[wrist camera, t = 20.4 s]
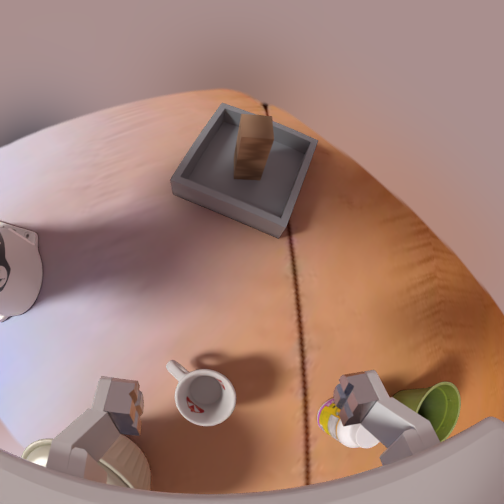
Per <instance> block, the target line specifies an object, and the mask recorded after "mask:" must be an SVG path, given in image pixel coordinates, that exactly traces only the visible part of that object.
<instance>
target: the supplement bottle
mask: <svg viewBox="0 0 504 504" xmlns="http://www.w3.org/2000/svg"><path fill="white" fill-rule="evenodd" d="M339 413H340V409H339V408H338V407H336V405H335V402H334V398H332V399H329V400H328V401H326V402H325V403H324V404H323V405H322V406H321V407H320V409H319V411H318V414H317V422H318V425H319V427H320V428H321V429H322V430H323V431H324V432H326V433H327V434H329V435H330V436H332V437H333V438H335V439H336V440H338V441H339V442H340V443H342V444H343V445H345V446H347V447H351V448H357V447H362V448H371V447H373V446H375V445H377V444H378V443H379V442H380V441H379V440H378V439H377V438H375V437H374V436H373V435H372V434H371V433H370V432H369V431H368V430H366V429H365V428H364V427H363V426H362V425H361V423H359V424H354V425H349V426H343V424H342V422H341V419H340V416H339Z"/></svg>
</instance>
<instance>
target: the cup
mask: <svg viewBox="0 0 504 504" xmlns="http://www.w3.org/2000/svg"><path fill="white" fill-rule="evenodd" d="M166 368H167V370H168V371H169V372H170V373H171V374H172V375H173V376H174V377H175V378H176V379H177V380H178V382H179V383H178V385H177V387H176V391H175V402H176V406H177V408H178V410H179V412H180V413H181V414H182V416H183V417H184V418H186V419H187V420H188V421H190V422H192V423H194V424H196V425H200V426H213V425H217V424H220V423H222V422H223V421H225V420H226V419H227V418H229V416H230V415H231V414H232V412H233V411H234V408H235V405H236V392H235V389H234V387H233V385H232V383H231V382H230V381H229V379H228V378H227V377H225V376H224V375H223V374H221V373H219V372H217V371H214V370H210V369H199V370H195V371H192V372H188V371H187V370H186V369H185V368H184V367H183V366H181V365H180V364H179V363H178V362H176V361H174V360H170V361H169V362H168V363H167V365H166Z"/></svg>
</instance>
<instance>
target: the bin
mask: <svg viewBox="0 0 504 504" xmlns="http://www.w3.org/2000/svg"><path fill="white" fill-rule="evenodd" d="M241 114H250V115H255V114H253V113H250V112H247V111H244V110H242V109H239V108H236V107H233V106H230V105H227V104H224V103H222V104H221V105H220V106H219V108H218V109H217V110H216V112H215V113H214V115H213V116H212V117H211V119H210V120H209V122H208V123H207V125H206V126H205V127H204V129H203V130H202V132H201V133H200V135H199V136H198V138H197V139H196V141H195V142H194V143H193V145H192V146H191V148H190V150H189V151H188V153H187V154H186V156H185V157H184V159H183V160H182V162H181V163H180V165H179V167H178V168H177V170H176V171H175V173H174V175H173V176H172V178H171V179H170V181H171V186H172V191H173V194H174V195H176V196H178V197H181V198H183V199H186V200H188V201H191V202H193V203H195V204H198V205H200V206H203V207H205V208H208V209H210V210H212V211H215V212H217V213H220V214H222V215H224V216H227V217H229V218H231V219H234V220H236V221H238V222H241V223H243V224H246V225H248V226H250V227H253V228H255V229H257V230H260V231H262V232H264V233H267V234H269V235H271V236H274V237H276V238H278V239H279V237H280V236H281V234H282V233H283V231H284V230H285V228H286V226H287V224H288V221H289V218H290V216H291V213H292V210H293V208H294V205H295V202H296V200H297V197H298V194H299V192H300V189H301V186H302V184H303V181H304V178H305V175H306V173H307V170H308V167H309V164H310V162H311V159H312V156H313V153H314V151H315V148H316V145H317V142H318V140H316V139H314V138H311V137H309V136H307V135H305V134H302V133H300V132H298V131H295V130H293V129H291V128H288V127H286V126H283V125H281V124H279V123H276V122H274V121H273V132H274V141H273V144H272V147H271V150H270V153H269V156H268V159H267V162H266V165H265V168H264V171H263V174H262V177H261V180H243V179H234V153H235V147H236V141H237V135H238V130H239V124H240V118H241Z"/></svg>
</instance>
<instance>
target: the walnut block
mask: <svg viewBox="0 0 504 504" xmlns="http://www.w3.org/2000/svg"><path fill="white" fill-rule="evenodd" d="M273 141H274V132H273V121H272V116H262V115H250V114H241V118H240V124H239V130H238V135H237V141H236V147H235V153H234V179H243V180H261V177H262V174H263V171H264V168H265V165H266V162H267V159H268V156H269V153H270V150H271V147H272V144H273Z"/></svg>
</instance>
